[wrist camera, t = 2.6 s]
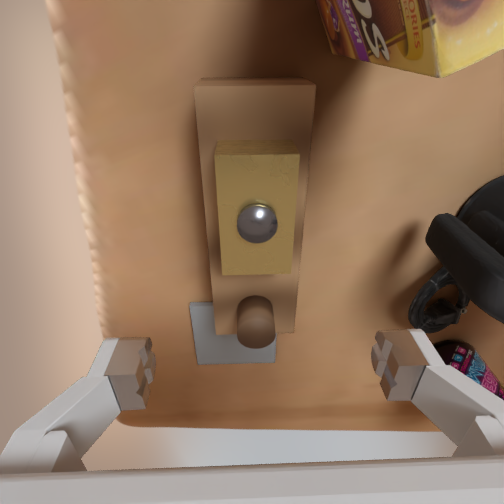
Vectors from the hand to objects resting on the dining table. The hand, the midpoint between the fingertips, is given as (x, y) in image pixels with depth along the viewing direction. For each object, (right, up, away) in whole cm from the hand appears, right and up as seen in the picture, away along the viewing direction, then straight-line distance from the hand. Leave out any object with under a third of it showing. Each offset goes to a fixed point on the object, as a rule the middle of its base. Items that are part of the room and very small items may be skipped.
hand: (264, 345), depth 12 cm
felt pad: (-2, -5, +24) cm, 25 cm away
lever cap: (0, +7, +11) cm, 13 cm away
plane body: (0, +7, +16) cm, 18 cm away
